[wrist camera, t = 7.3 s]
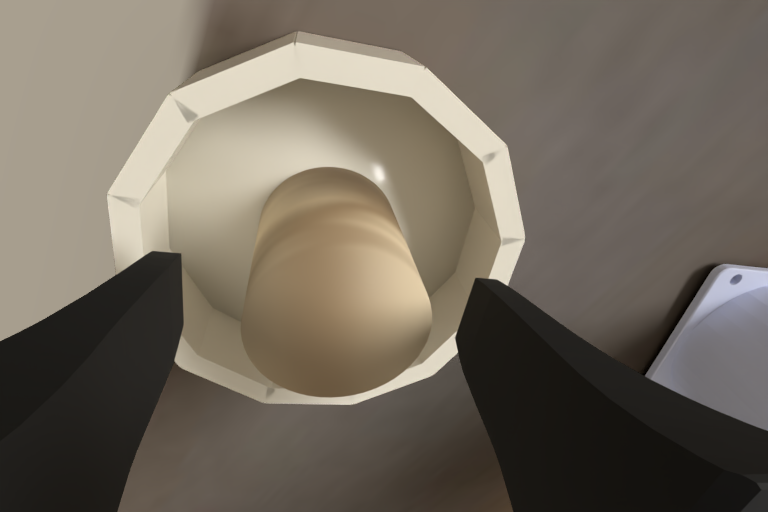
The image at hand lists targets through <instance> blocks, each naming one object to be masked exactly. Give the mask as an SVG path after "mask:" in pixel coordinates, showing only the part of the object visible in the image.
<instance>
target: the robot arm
mask: <svg viewBox="0 0 768 512" xmlns="http://www.w3.org/2000/svg"><path fill="white" fill-rule="evenodd" d="M183 326H184V316H183V288H182V259H181V253H171V252H159V251H151V252H150V253H148V254H146V255H145V256H143V257H142V258H140V259H139V260H137V261H136V262H134V263H133V264H132V265H130V266H129V267H127V268H126V269H124V270H123V271H121V272H120V273H118V274H117V275H115V276H114V277H112V278H111V279H109V280H108V281H106V282H105V283H103V284H102V285H100V286H99V287H97V288H95V289H94V290H92V291H91V292H89V293H88V294H86V295H84V296H83V297H81V298H79V299H78V300H76V301H74V302H73V303H71V304H69V305H68V306H66V307H64V308H62V309H61V310H59V311H57V312H56V313H54V314H52V315H50V316H49V317H47V318H45V319H43V320H42V321H40V322H38V323H36V324H34V325H32V326H30V327H29V328H27V329H24V330H23V331H21V332H19V333H17V334H15V335H12V336H10V337H8V338H6V339H4V340H2V341H0V512H117V511H118V507H119V504H120V501H121V497H122V494H123V491H124V487H125V484H126V481H127V478H128V474H129V471H130V468H131V466H132V463H133V460H134V457H135V455H136V452H137V449H138V447H139V445H140V442H141V440H142V437H143V435H144V433H145V430H146V428H147V426H148V423H149V421H150V418H151V416H152V414H153V411H154V409H155V407H156V404H157V402H158V399H159V397H160V395H161V392H162V390H163V387H164V385H165V383H166V380H167V378H168V375H169V373H170V370H171V368H172V366H173V363H174V360H175V356H176V353H177V349H178V345H179V341H180V338H181V334H182V330H183ZM455 341H456V345H457V350H458V354H459V358H460V362H461V366H462V370H463V373H464V375H465V378H466V381H467V383H468V386H469V388H470V391H471V393H472V396H473V398H474V401H475V403H476V406H477V408H478V410H479V413H480V415H481V418H482V420H483V423H484V425H485V427H486V430H487V432H488V435H489V437H490V440H491V442H492V445H493V447H494V450H495V453H496V455H497V458H498V461H499V464H500V467H501V470H502V474H503V477H504V480H505V484H506V487H507V491H508V494H509V498H510V501H511V505H512V508H513V512H768V268H760V267H750V266H741V265H731V264H722V265H719V266H717V267H715V268H714V269H713V270H712V271H711V272H710V274H709V275H708V277H707V278H706V280H705V282H704V283H703V285H702V286H701V288H700V289H699V291H698V293H697V294H696V296H695V297H694V299H693V301H692V302H691V304H690V305H689V307H688V308H687V310H686V312H685V313H684V315H683V316H682V318H681V319H680V321H679V323H678V324H677V326H676V327H675V329H674V331H673V332H672V334H671V335H670V337H669V338H668V340H667V342H666V343H665V345H664V346H663V348H662V350H661V351H660V353H659V354H658V356H657V357H656V359H655V361H654V362H653V364H652V365H651V367H650V369H649V370H648V372H647V373H646V375H645V376H643V375H641V374H640V373H638V372H636V371H634V370H633V369H631V368H629V367H627V366H626V365H624V364H622V363H620V362H618V361H617V360H615V359H613V358H612V357H610V356H608V355H607V354H605V353H603V352H602V351H600V350H599V349H597V348H596V347H594V346H593V345H591V344H589V343H588V342H586V341H585V340H583V339H582V338H580V337H579V336H577V335H576V334H574V333H573V332H571V331H570V330H569V329H567V328H566V327H564V326H563V325H561V324H560V323H559V322H557V321H556V320H554V319H553V318H552V317H550V316H549V315H548V314H546V313H545V312H543V311H542V310H541V309H539V308H538V307H537V306H535V305H534V304H533V303H531V302H530V301H528V300H527V299H526V298H524V297H523V296H522V295H520V294H519V293H517V292H516V291H514V290H513V289H512V288H510V287H509V286H507V285H505V284H504V283H502V282H500V281H499V280H497V279H486V278H475V280H474V283H473V286H472V289H471V292H470V295H469V298H468V301H467V304H466V307H465V310H464V313H463V316H462V319H461V322H460V325H459V328H458V330H457V333H456V336H455Z"/></svg>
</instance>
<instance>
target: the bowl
mask: <svg viewBox="0 0 768 512" xmlns="http://www.w3.org/2000/svg"><path fill="white" fill-rule="evenodd" d="M318 167H338V168H344V169H348V170H351V171H354V172H357V173H359V174H361V175H363V176H365V177H367V178H368V179H370V180H371V181H372V182H374V183H375V184H376V185H377V186H378V187H379V188H380V189H381V190H382V191H383V193H384V194H385V196H386V197H387V199H388V201H389V202H390V204H391V207H392V209H393V212H394V214H395V216H396V219H397V221H398V224H399V226H400V229H401V231H402V233H403V236H404V238H405V241H406V243H407V246H408V248H409V250H410V253H411V255H412V258H413V260H414V263H415V265H416V267H417V270H418V272H419V275H420V277H421V279H422V282H423V284H424V287H425V289H426V292H427V294H428V297H429V300H430V303H431V309H432V325H431V331H430V334H429V337H428V340H427V342H426V344H425V346H424V348H423V350H422V352H421V353H420V355H419V356H418V358H417V359H416V360H415V361H414V362H413V363H412V364H411V366H409V367H408V368H407V369H406V370H405V371H404V372H403V373H401V374H400V375H399V376H397V377H396V378H395V379H393V380H391V381H390V382H388V383H386V384H384V385H382V386H380V387H378V388H376V389H373V390H370V391H367V392H364V393H360V394H356V395H351V396H345V397H333V398H329V397H314V396H307V395H303V394H299V393H296V392H293V391H290V390H287V389H285V388H283V387H281V386H278V385H277V384H275V383H274V382H272V381H270V380H269V379H268V378H266V377H265V376H264V375H263V374H261V373H260V371H259V370H258V369H257V368H256V367H255V366H254V365H253V363H252V362H251V360H250V359H249V357H248V355H247V353H246V351H245V349H244V345H243V342H242V337H241V318H242V313H243V307H244V302H245V297H246V291H247V286H248V280H249V275H250V270H251V264H252V259H253V253H254V248H255V243H256V237H257V232H258V226H259V221H260V216H261V212H262V209H263V207H264V205H265V203H266V201H267V199H268V197H269V196H270V195H271V193H272V192H273V191H274V190H275V189H276V188H277V187H278V186H279V185H280V184H281V183H282V182H284V181H285V180H286V179H288V178H289V177H291V176H293V175H295V174H297V173H299V172H302V171H305V170H308V169H312V168H318ZM107 202H108V211H109V220H110V228H111V235H112V245H113V253H114V262H115V270H116V275H117V274H118V273H120V272H121V271H123V270H124V269H126V268H127V267H129V266H130V265H132V264H133V263H134V262H136V261H137V260H139V259H140V258H142V257H143V256H145V255H146V254H148V253H150V252H151V251H159V252H171V253H181V259H182V288H183V316H184V326H183V330H182V334H181V338H180V341H179V345H178V349H177V353H176V356H175V360H174V361H175V362H176V363H177V365H178V366H179V367H181V368H182V369H184V370H186V371H189V372H191V373H193V374H196V375H198V376H201V377H203V378H205V379H208V380H210V381H212V382H215V383H217V384H220V385H222V386H224V387H227V388H229V389H231V390H234V391H236V392H239V393H241V394H243V395H246V396H248V397H250V398H253V399H255V400H258V401H260V402H262V403H268V404H338V405H352V403H353V404H356V403H359V402H361V401H364V400H367V399H370V398H372V397H375V396H378V395H381V394H383V393H386V392H389V391H392V390H394V389H397V388H400V387H403V386H405V385H408V384H411V383H414V382H416V381H419V380H422V379H425V378H427V377H430V376H432V375H434V374H435V373H436V372H437V371H438V370H439V369H440V368H442V367H443V366H444V365H445V364H446V363H447V362H448V361H449V360H450V359H451V358H453V357H454V356H455V355H456V354H457V353H458V350H457V345H456V341H455V336H456V333H457V330H458V328H459V325H460V322H461V319H462V316H463V313H464V310H465V307H466V304H467V301H468V298H469V295H470V292H471V289H472V286H473V283H474V280H475V278H486V279H497V280H499V281H500V282H502V283H504V284H505V285H507V286H508V283H509V281H510V278H511V275H512V273H513V270H514V268H515V265H516V262H517V260H518V257H519V254H520V252H521V249H522V247H523V244H524V241H525V233H524V228H523V223H522V218H521V213H520V208H519V203H518V198H517V193H516V188H515V183H514V178H513V173H512V168H511V162H510V157H509V152H508V147H507V146H506V144H505V143H504V142H503V141H502V140H501V139H500V138H499V137H498V136H497V135H496V134H495V133H494V132H493V131H491V130H490V129H489V128H488V127H487V126H486V125H485V124H484V123H483V122H482V121H481V120H480V119H479V118H478V117H477V116H476V115H475V114H474V113H473V112H472V111H471V110H470V109H469V108H468V107H467V106H466V105H465V104H464V103H463V102H462V101H460V100H459V99H458V98H457V97H456V96H455V95H454V94H453V93H452V92H451V91H450V90H449V89H448V88H447V87H446V86H445V85H444V84H443V83H442V82H441V81H440V80H439V79H438V78H437V77H436V76H435V75H434V74H433V73H432V72H431V71H430V70H428V69H427V68H426V67H425V66H423V65H422V64H420V63H419V62H417V61H416V60H414V59H412V58H411V57H409V56H408V55H406V54H405V53H403V52H401V51H397V50H392V49H387V48H381V47H376V46H371V45H366V44H361V43H356V42H351V41H346V40H340V39H335V38H330V37H325V36H320V35H315V34H310V33H304V32H299V31H298V33H297V32H293V33H291V34H288V35H286V36H284V37H281V38H279V39H276V40H274V41H271V42H269V43H266V44H264V45H262V46H259V47H257V48H254V49H252V50H249V51H247V52H244V53H242V54H240V55H237V56H235V57H232V58H230V59H227V60H225V61H222V62H220V63H218V64H215V65H213V66H210V67H208V68H205V69H203V70H200V71H198V72H197V73H195V74H194V75H193V76H191V77H190V78H189V79H187V80H186V81H185V82H183V83H182V84H181V85H179V86H178V87H177V88H176V89H174V90H173V91H172V92H170V93H169V94H168V95H167V97H166V99H165V100H164V102H163V103H162V105H161V107H160V108H159V110H158V112H157V113H156V115H155V117H154V118H153V120H152V121H151V123H150V124H149V126H148V128H147V129H146V131H145V133H144V134H143V136H142V137H141V139H140V141H139V142H138V144H137V146H136V148H135V149H134V151H133V152H132V154H131V155H130V157H129V158H128V160H127V162H126V164H125V165H124V167H123V168H122V170H121V172H120V173H119V175H118V176H117V178H116V179H115V181H114V183H113V185H112V186H111V188H110V189H109V191H108V192H107Z"/></svg>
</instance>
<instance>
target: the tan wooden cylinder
mask: <svg viewBox="0 0 768 512" xmlns="http://www.w3.org/2000/svg"><path fill="white" fill-rule="evenodd" d="M431 325H432V309H431V303H430V300H429V297H428V294H427V292H426V289H425V287H424V284H423V282H422V279H421V277H420V275H419V272H418V270H417V267H416V265H415V263H414V260H413V258H412V255H411V253H410V250H409V248H408V246H407V243H406V241H405V238H404V236H403V233H402V231H401V229H400V226H399V224H398V221H397V219H396V216H395V214H394V212H393V209H392V207H391V204H390V202H389V201H388V199H387V197H386V196H385V194H384V193H383V191H382V190H381V189H380V188H379V187H378V186H377V185H376V184H375V183H374V182H372V181H371V180H370V179H368V178H367V177H365V176H363V175H361V174H359V173H357V172H354V171H351V170H348V169H344V168H338V167H318V168H312V169H308V170H305V171H302V172H299V173H297V174H295V175H293V176H291V177H289V178H288V179H286V180H285V181H284V182H282V183H281V184H280V185H279V186H278V187H277V188H276V189H275V190H274V191H273V192H272V193H271V195H270V196H269V197H268V199H267V201H266V203H265V205H264V207H263V209H262V212H261V216H260V221H259V226H258V232H257V237H256V243H255V248H254V253H253V259H252V264H251V270H250V275H249V280H248V286H247V291H246V297H245V302H244V307H243V313H242V318H241V337H242V342H243V345H244V349H245V351H246V353H247V355H248V357H249V359H250V360H251V362H252V363H253V365H254V366H255V367H256V368H257V369H258V370H259V371H260V373H261V374H263V375H264V376H265V377H266V378H268V379H269V380H270V381H272V382H274V383H275V384H277V385H278V386H281V387H283V388H285V389H287V390H290V391H293V392H296V393H299V394H303V395H307V396H314V397H329V398H333V397H345V396H351V395H356V394H360V393H364V392H367V391H370V390H373V389H376V388H378V387H380V386H382V385H384V384H386V383H388V382H390V381H391V380H393V379H395V378H396V377H397V376H399V375H400V374H401V373H403V372H404V371H405V370H406V369H407V368H408V367H409V366H411V364H412V363H413V362H414V361H415V360H416V359H417V358H418V356H419V355H420V353H421V352H422V350H423V348H424V346H425V344H426V342H427V340H428V337H429V334H430V331H431Z"/></svg>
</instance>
